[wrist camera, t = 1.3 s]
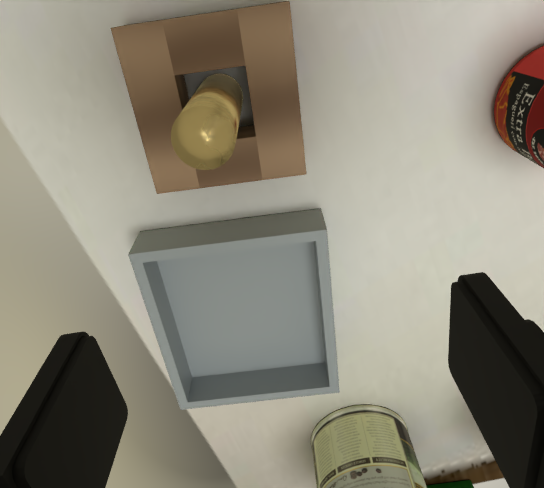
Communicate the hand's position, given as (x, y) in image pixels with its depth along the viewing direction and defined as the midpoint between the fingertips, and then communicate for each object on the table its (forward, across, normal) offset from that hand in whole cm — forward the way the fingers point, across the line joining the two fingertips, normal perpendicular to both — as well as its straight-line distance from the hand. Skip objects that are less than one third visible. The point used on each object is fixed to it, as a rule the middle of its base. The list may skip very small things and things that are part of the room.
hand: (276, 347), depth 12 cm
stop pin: (+22, +3, -3) cm, 22 cm away
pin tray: (+22, +4, +14) cm, 26 cm away
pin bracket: (+22, +3, -3) cm, 22 cm away
